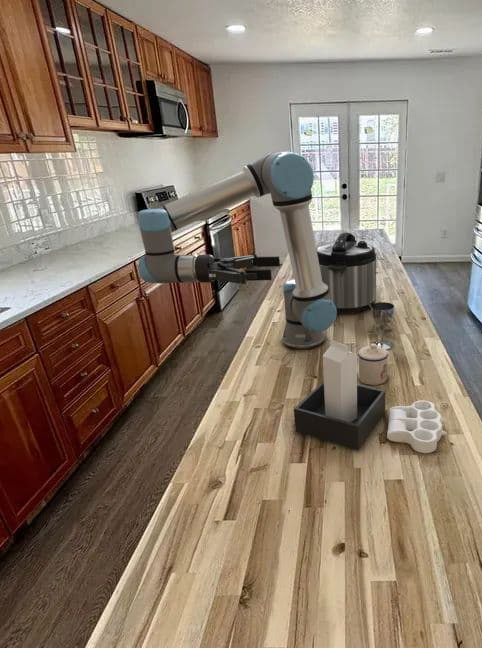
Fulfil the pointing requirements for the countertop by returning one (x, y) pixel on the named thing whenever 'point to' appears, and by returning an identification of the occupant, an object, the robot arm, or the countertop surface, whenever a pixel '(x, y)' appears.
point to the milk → (340, 382)
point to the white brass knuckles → (416, 426)
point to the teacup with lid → (373, 365)
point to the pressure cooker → (349, 273)
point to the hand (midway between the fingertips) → (275, 267)
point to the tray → (336, 430)
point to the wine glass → (382, 319)
